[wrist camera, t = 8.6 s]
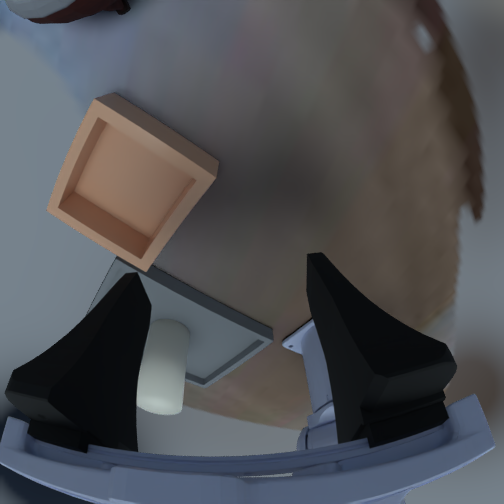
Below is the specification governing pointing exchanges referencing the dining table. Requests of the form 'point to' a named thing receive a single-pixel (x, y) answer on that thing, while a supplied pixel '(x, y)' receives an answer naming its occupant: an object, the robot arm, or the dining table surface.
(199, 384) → the tray
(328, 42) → the dining table surface
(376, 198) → the dining table surface
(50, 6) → the mate gourd
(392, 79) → the dining table surface
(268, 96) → the dining table surface
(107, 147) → the shallow square box
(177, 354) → the peg
